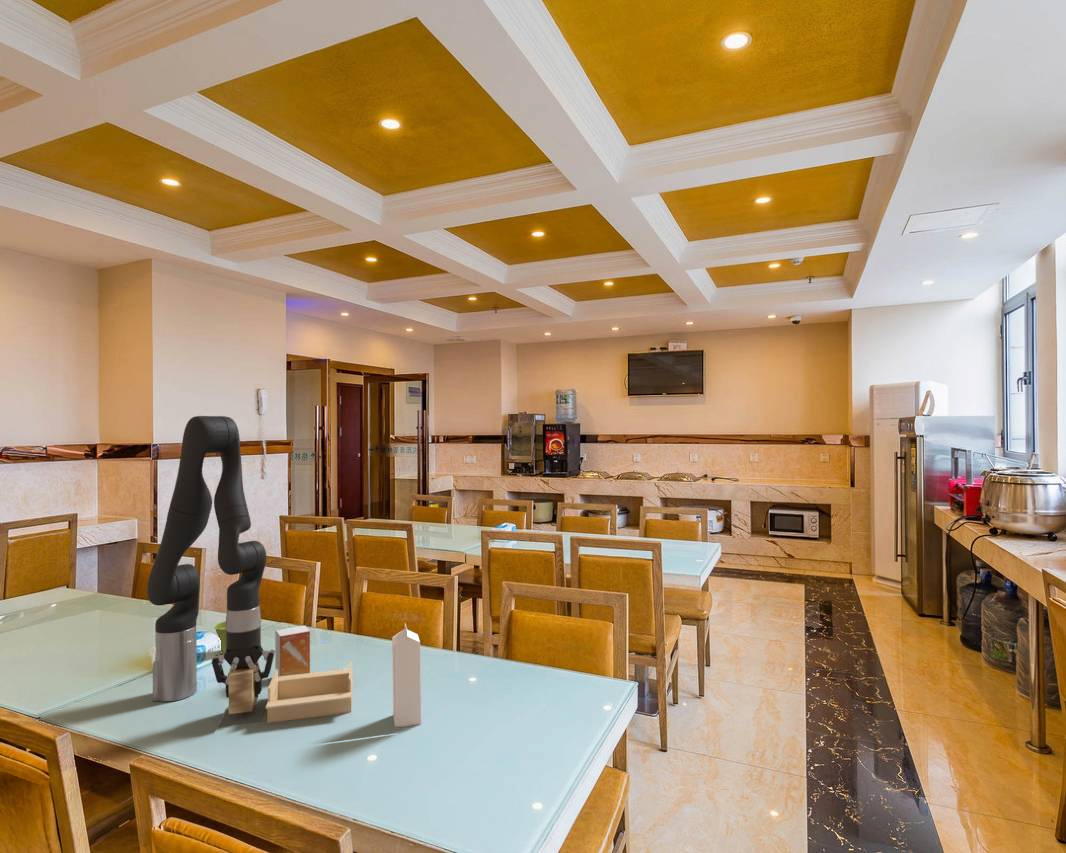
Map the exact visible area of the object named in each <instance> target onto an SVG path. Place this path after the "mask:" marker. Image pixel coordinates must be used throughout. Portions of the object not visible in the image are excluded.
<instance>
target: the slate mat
mask: <svg viewBox="0 0 1066 853" xmlns="http://www.w3.org/2000/svg"><path fill="white" fill-rule="evenodd" d="M267 703H268V700H262V701H256V704H255V706H254V708H253V711H250V712H242V713H234V714H229V705H228V706H227V708H226V710H225V712H224V714H223V716H222V718H221V719H220V722H219V723H218V725H217V727H218V728H220V727H228V726H229V727H230V726H237V725H238V726H239V725H244V724H251V723H260V722H262V719H263V716H264V714H265V711H266V710H267V709H266V705H267Z"/></svg>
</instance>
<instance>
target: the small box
mask: <svg viewBox="0 0 1066 853" xmlns="http://www.w3.org/2000/svg"><path fill="white" fill-rule="evenodd" d="M274 633H275V634H274V635H275V637H274V640H275V643H274V644H275V645H274V646H275V647H274V648H275V649H274V651H275V653H274V658H275V670H276V669H278V677H279V676H288V675H297V674H306V673H311V630H310V629H309V628H308V627H307V626H306V624H305V625H301V626H292V627H287V628H282V629H275V632H274Z"/></svg>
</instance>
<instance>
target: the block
mask: <svg viewBox="0 0 1066 853" xmlns="http://www.w3.org/2000/svg"><path fill="white" fill-rule="evenodd" d="M257 662H258V663H259V660H258V661H257ZM255 666H256V665H255ZM254 682H255V678H254V669H250V668H248V669H239V670H235V671H231V672H230V674H229V698H228V706H229V714H234V713H242V712H250V711H253V708H254V706H255V704H256V702H258V700H259V696H258V697H255V695H254Z"/></svg>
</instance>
